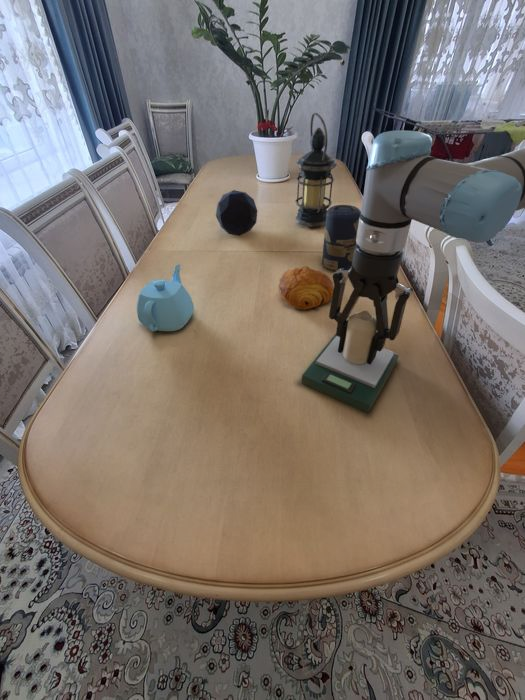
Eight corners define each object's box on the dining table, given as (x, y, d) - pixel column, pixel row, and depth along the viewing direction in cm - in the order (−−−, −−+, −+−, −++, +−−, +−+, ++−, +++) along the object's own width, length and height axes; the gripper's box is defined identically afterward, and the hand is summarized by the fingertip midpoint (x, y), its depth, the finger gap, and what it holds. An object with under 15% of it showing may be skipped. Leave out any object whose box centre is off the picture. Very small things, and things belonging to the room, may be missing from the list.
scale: (396, 363, 74) (399, 351, 72) (368, 413, 64) (371, 402, 62) (335, 340, 80) (337, 329, 78) (301, 383, 70) (302, 372, 68)
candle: (345, 344, 74) (352, 304, 67) (372, 349, 72) (382, 309, 65) (339, 360, 70) (346, 320, 63) (367, 367, 68) (378, 326, 62)
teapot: (201, 264, 86) (168, 304, 73) (206, 301, 94) (177, 343, 81) (155, 259, 89) (116, 297, 76) (164, 295, 96) (129, 335, 83)
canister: (345, 276, 102) (355, 214, 90) (316, 268, 106) (321, 208, 94) (357, 262, 108) (367, 202, 96) (328, 255, 112) (335, 197, 100)
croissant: (279, 317, 91) (279, 294, 85) (278, 280, 101) (277, 256, 95) (335, 316, 90) (339, 292, 84) (328, 278, 100) (331, 254, 94)
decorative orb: (211, 210, 130) (211, 183, 115) (250, 206, 132) (255, 178, 118) (219, 245, 127) (220, 221, 112) (259, 239, 130) (265, 216, 115)
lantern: (335, 229, 128) (349, 114, 104) (300, 233, 125) (307, 117, 102) (321, 215, 138) (331, 108, 115) (289, 218, 136) (293, 110, 113)
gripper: (316, 241, 57) (307, 348, 72) (434, 270, 49) (395, 383, 64) (335, 226, 62) (323, 329, 77) (446, 250, 54) (408, 360, 69)
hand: (356, 354), depth 71 cm, fingers closed on candle, 5 cm apart
